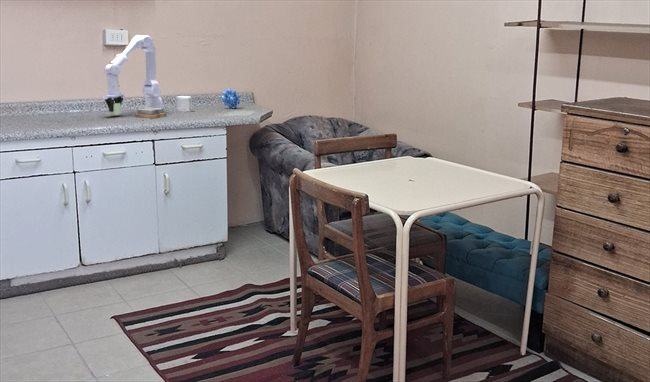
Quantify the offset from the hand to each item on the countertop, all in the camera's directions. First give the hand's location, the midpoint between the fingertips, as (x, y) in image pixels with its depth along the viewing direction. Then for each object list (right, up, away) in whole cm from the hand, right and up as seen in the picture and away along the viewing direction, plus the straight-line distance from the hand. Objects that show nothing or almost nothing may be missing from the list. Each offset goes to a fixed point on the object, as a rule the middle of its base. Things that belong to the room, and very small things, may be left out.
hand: (114, 111), depth 399 cm
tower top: (+20, -1, +1) cm, 20 cm away
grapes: (+59, +6, +40) cm, 72 cm away
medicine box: (+34, +2, +25) cm, 42 cm away
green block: (0, -2, 0) cm, 2 cm away
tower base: (+20, -4, +2) cm, 20 cm away
